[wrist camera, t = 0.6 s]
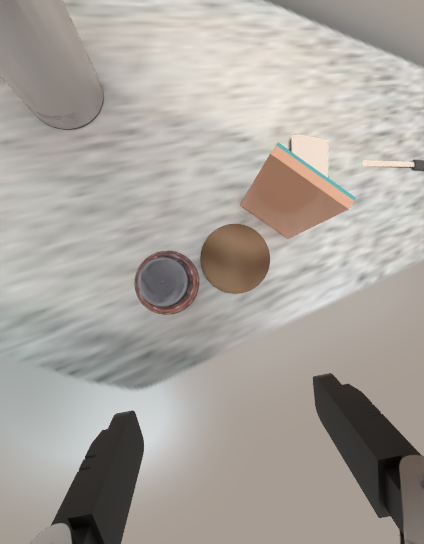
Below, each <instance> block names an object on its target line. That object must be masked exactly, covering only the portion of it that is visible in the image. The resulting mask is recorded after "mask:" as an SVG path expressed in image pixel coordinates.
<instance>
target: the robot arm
mask: <svg viewBox="0 0 424 544" xmlns="http://www.w3.org/2000/svg"><path fill="white" fill-rule="evenodd" d="M0 76H1V77H2V78H3V79H4V80H5V82H6V83H7V84H8V85H9V86H10V87H11V88H12V89H13V90H14V91H15V93H16V94H17V95H18V96H19V97H20V98H21V99H22V100H23V101H24V102H25V103H26V105H27V106H28V107H29V108H30V109H31V110H32V111H33V112H34V113H35V114H36V115H37V116H38V117H39V118H40V119H41V120H42V121H43V122H45V123H47V124H49V125H50V126H53V127H56V128H62V129H74V128H78V127H81V126H83V125H85V124H87V123H89V122H90V121H91V120H93V119H94V118H95V116H96V115H97V114H98V113H99V111H100V109H101V106H102V102H103V90H102V86H101V84H100V82H99V79H98V77H97V75H96V73H95V71H94V68H93V66H92V64H91V62H90V60H89V57H88V55H87V53H86V50H85V48H84V46H83V44H82V42H81V39H80V37H79V35H78V33H77V31H76V29H75V26H74V24H73V22H72V20H71V18H70V15H69V13H68V11H67V9H66V7H65V4H64V2H63V0H0ZM313 386H314V397H315V406H316V410H317V413H318V416H319V418H320V420H321V422H322V424H323V426H324V427H325V429H326V430H327V432H328V433H329V435H330V437H331V439H332V440H333V442H334V444H335V446H336V447H337V449H338V450H339V452H340V454H341V455H342V457H343V459H344V461H345V462H346V464H347V465H348V467H349V469H350V471H351V472H352V474H353V476H354V477H355V479H356V480H357V482H358V484H359V485H360V487H361V489H362V491H363V492H364V494H365V496H366V497H367V499H368V500H369V502H370V504H371V506H372V507H373V509H374V511H375V512H376V514H377V516H378V517H379V518H382V517H388V516H391V517H392V519H393V520H394V522H395V523H396V525H397V527H398V528H399V540H400V544H424V456H422V455H421V454H420V453H419V452H418V451H417V450H416V449H415V448H414V447H413V446H412V445H411V444H410V443H409V442H408V441H407V440H406V439H405V438H404V436H403V435H402V434H401V433H400V432H399V431H398V430H397V429H396V428H395V427H394V426H393V425H392V424H391V423H390V422H389V420H388V419H387V418H386V417H385V416H384V415H383V414H381V413H380V411H379V410H378V409H377V408H376V407H375V406H374V405H372V402H371V401H370V400H369V399H368V398H367V397H366V396H365V395H364V394H363V393H362V392H361V391H359V390H358V389H356V388H354V387H353V386H351V385H350V384H345V385H342V384H341V383H340V382H339V381H338V380H337V379H336V378H335V377H334V375H333V374H331V373H329V374H324V375H319V376H314V377H313ZM143 452H144V440H143V436H142V433H141V430H140V426H139V423H138V420H137V417H136V414H135V412H134V411H128V412H123V413H117V414H115V415H114V417H113V419H112V421H111V423H110V426H109V428H108V429H106V430H102V432H101V433H100V434H99V435H98V436H97V438H96V439H95V440H94V441H93V443H92V444H91V446H90V448H89V450H88V452H87V454H86V456H85V460H83V462H82V464H81V466H80V469H79V472H77V474H76V476H75V478H74V480H73V482H72V484H71V486H70V488H69V490H68V492H67V494H66V496H65V498H64V500H63V502H62V505H61V506H60V508H59V510H58V513H57V515H56V517H55V519H54V521H53V522H52V524H51V526H50V527H48V528H46V529H45V530H43V531H42V532H41V533H39V534H38V535H37V536H36V537H35V538H34V539H33V540H32V541H31V542H30V543H29V544H121V541H122V537H123V533H124V529H125V525H126V521H127V517H128V513H129V509H130V505H131V501H132V497H133V493H134V489H135V484H136V481H137V477H138V473H139V469H140V465H141V461H142V457H143Z"/></svg>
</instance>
